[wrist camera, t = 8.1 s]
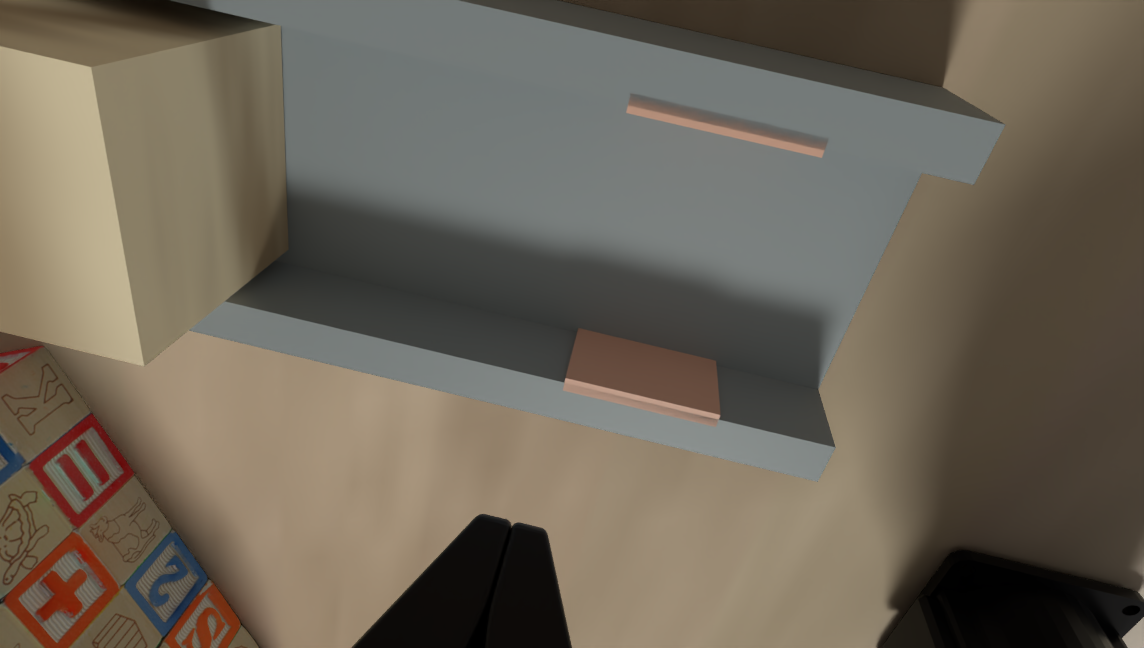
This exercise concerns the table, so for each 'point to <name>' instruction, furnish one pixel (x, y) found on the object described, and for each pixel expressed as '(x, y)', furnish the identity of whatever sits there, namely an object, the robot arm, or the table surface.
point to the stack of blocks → (88, 533)
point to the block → (134, 169)
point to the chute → (587, 213)
